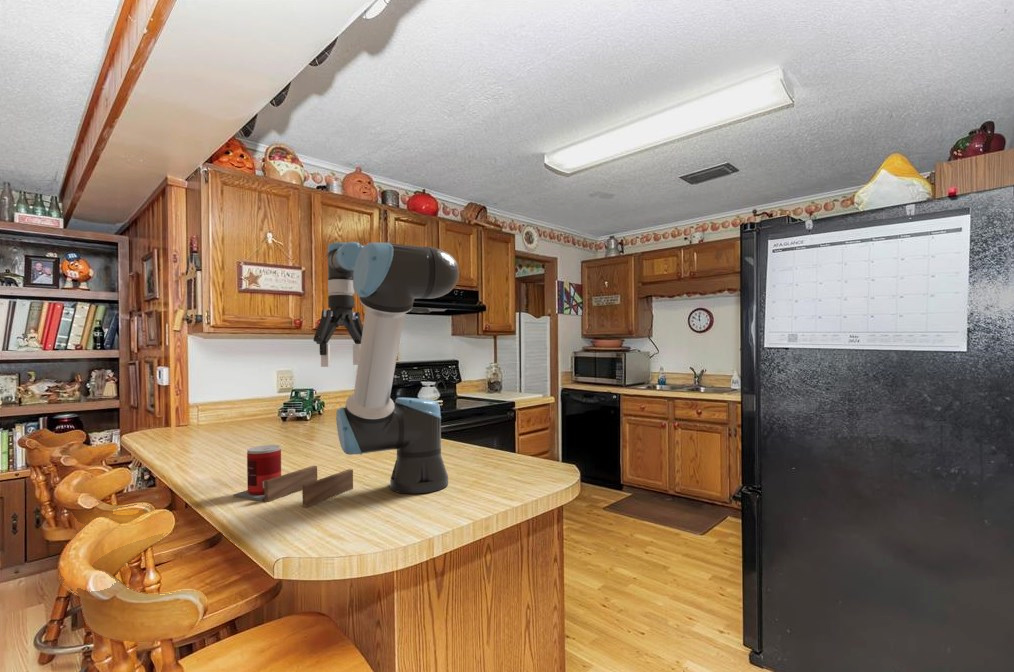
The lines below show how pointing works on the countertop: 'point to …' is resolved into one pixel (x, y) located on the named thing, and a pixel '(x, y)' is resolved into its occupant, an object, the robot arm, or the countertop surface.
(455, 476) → the countertop surface
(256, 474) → the canned food
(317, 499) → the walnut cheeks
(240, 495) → the slate mat
